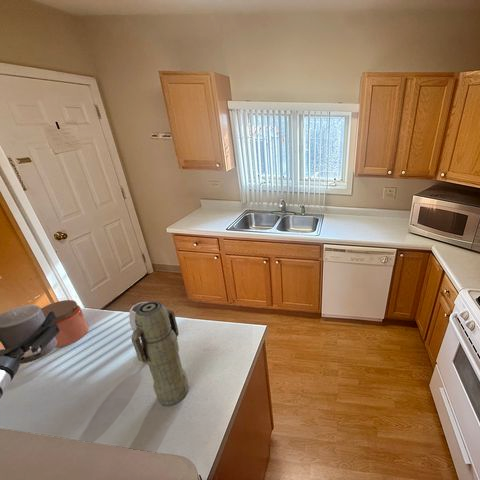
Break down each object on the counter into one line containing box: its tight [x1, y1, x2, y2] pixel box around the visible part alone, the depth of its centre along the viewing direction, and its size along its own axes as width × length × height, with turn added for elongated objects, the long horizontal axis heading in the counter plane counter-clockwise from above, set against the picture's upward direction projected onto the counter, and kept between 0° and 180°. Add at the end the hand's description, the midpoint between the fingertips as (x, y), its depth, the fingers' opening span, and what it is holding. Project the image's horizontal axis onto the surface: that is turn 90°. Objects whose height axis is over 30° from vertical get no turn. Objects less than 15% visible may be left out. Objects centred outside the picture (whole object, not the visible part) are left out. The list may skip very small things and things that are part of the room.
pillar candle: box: [0, 304, 57, 365], centre depth 74 cm, size 10×10×15 cm
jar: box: [41, 299, 90, 349], centre depth 100 cm, size 13×13×13 cm
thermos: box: [131, 300, 190, 407], centre depth 75 cm, size 9×12×35 cm
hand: (30, 319), depth 77 cm, fingers closed on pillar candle, 9 cm apart
